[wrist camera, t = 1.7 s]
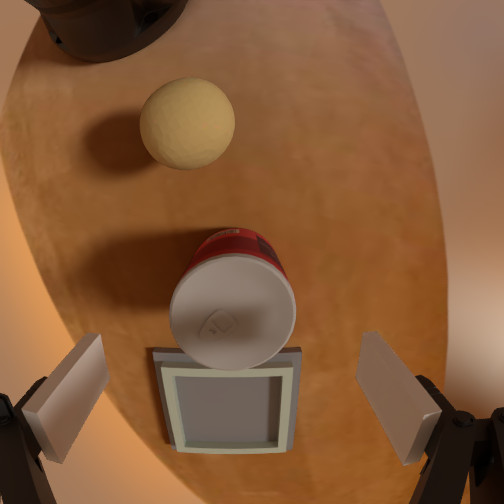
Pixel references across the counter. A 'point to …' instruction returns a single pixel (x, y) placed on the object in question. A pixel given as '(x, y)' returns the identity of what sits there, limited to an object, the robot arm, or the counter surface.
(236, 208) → the counter surface
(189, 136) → the light bulb
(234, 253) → the canned food
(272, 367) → the coaster
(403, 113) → the counter surface
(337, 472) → the counter surface
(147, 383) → the counter surface
